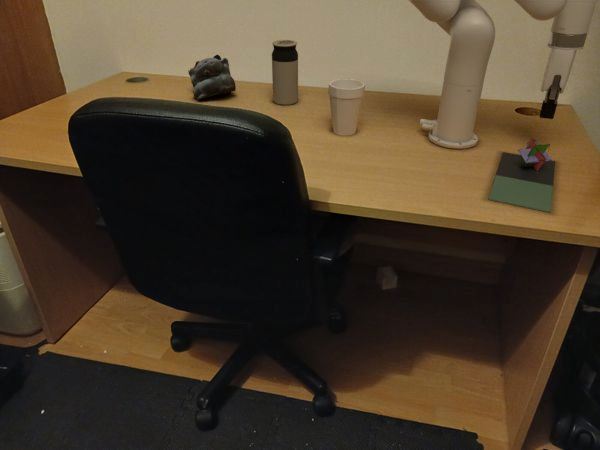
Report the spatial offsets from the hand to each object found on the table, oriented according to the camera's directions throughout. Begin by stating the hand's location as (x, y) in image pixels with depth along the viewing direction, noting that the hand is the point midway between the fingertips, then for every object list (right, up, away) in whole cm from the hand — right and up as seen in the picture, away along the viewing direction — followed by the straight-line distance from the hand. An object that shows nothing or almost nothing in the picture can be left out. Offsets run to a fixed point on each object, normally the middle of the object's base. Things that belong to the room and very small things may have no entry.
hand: (546, 117), depth 119 cm
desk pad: (-11, -17, -11) cm, 23 cm away
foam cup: (-49, -1, +13) cm, 51 cm away
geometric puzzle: (-7, -14, -7) cm, 17 cm away
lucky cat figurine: (-90, +15, +38) cm, 99 cm away
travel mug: (-66, +13, +34) cm, 75 cm away
